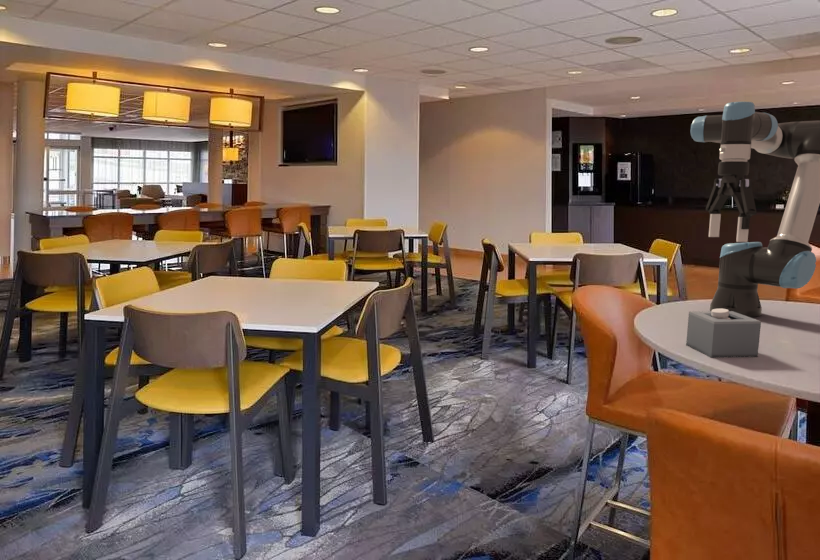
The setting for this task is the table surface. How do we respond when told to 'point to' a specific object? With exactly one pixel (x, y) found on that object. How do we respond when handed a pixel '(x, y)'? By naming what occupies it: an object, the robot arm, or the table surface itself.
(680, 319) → the table surface
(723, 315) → the pill bottle
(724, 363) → the table surface
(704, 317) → the drop box
